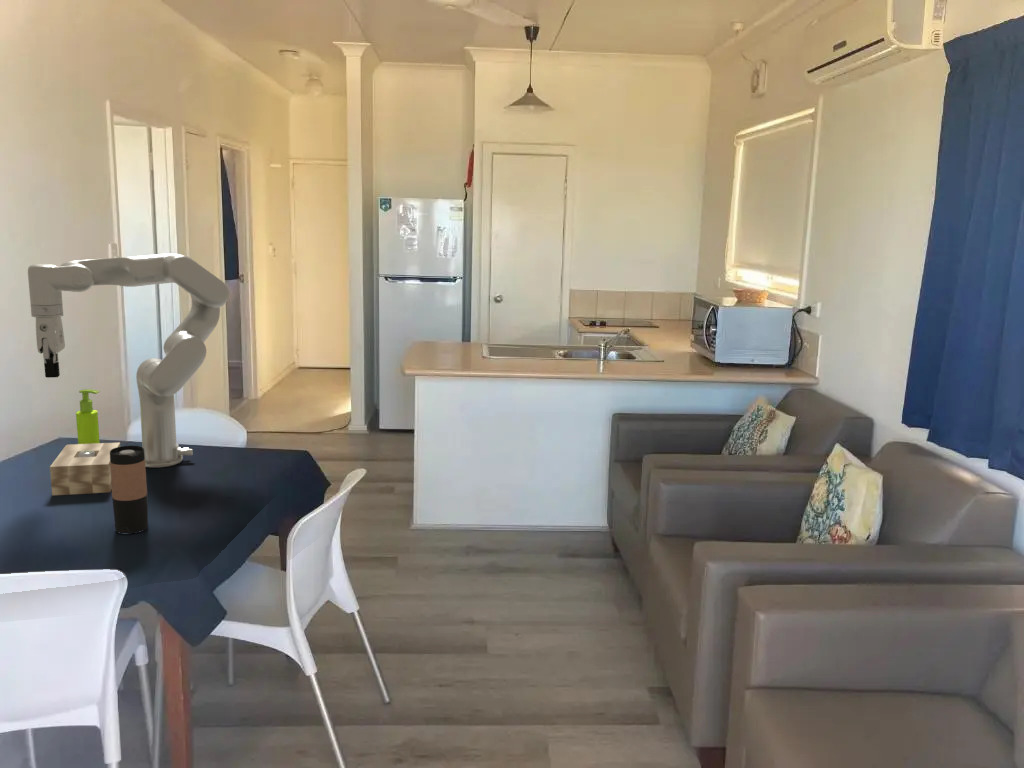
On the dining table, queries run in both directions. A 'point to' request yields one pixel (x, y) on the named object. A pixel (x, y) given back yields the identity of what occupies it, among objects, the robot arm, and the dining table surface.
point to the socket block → (82, 470)
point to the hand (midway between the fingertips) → (52, 376)
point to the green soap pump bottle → (87, 420)
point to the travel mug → (129, 488)
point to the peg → (86, 454)
